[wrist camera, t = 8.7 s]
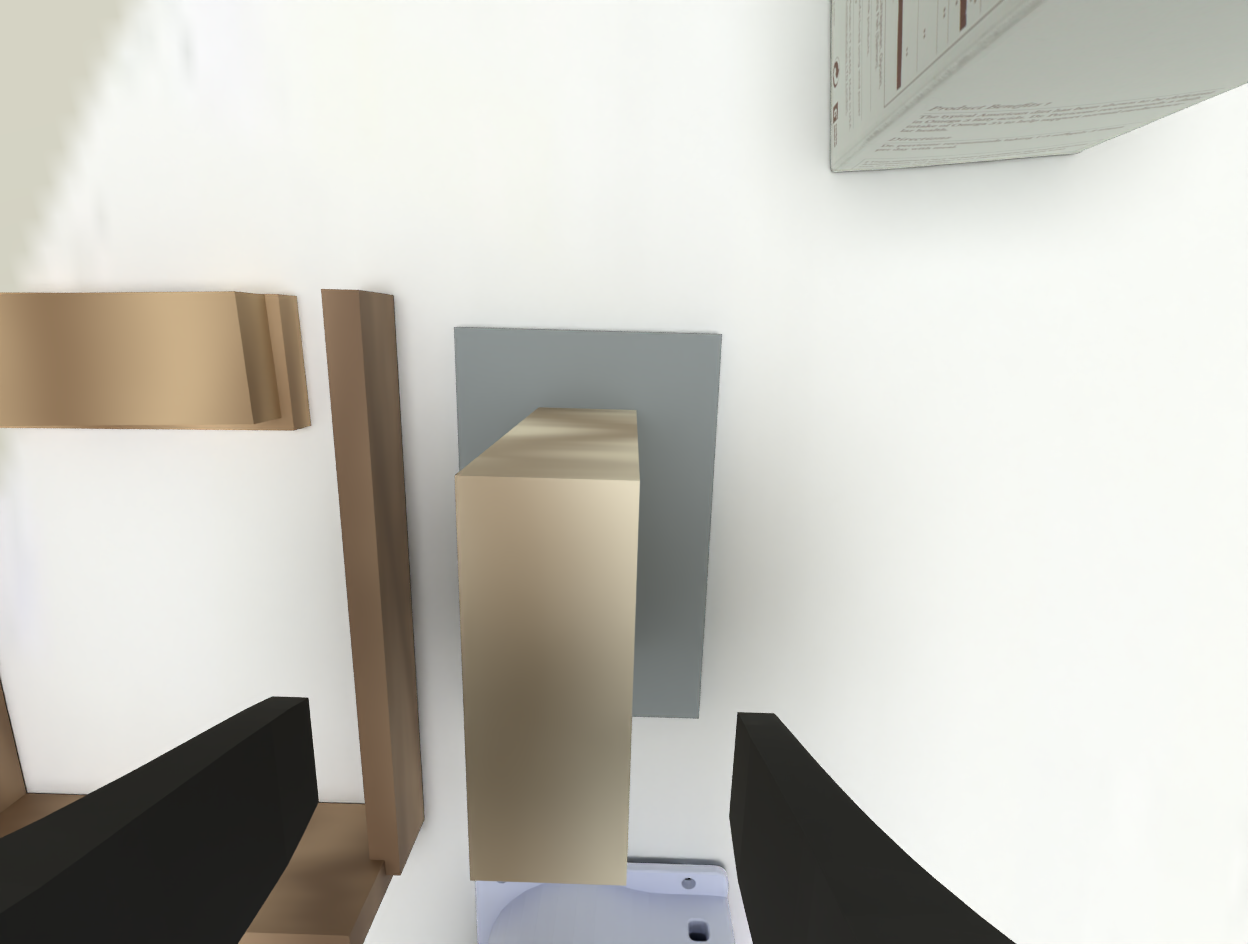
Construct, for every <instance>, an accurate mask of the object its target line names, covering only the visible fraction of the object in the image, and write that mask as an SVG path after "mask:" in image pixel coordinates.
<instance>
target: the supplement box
mask: <svg viewBox="0 0 1248 944" xmlns="http://www.w3.org/2000/svg"><path fill="white" fill-rule="evenodd" d="M1246 83H1248V0H832V14H831V144H830V150H831V169H832V171H833V172H844V171H860V170H880V169H893V168H906V167H919V166H932V165H944V164H956V163H968V162H980V161H991V160H1003V159H1015V158H1027V157H1038V156H1050V155H1062V154H1077V153H1080V152H1082V151H1083V150H1085V149H1088V148H1090V147H1093V146H1095V145H1097V144H1100V143H1102V142H1105V141H1107V140H1110V139H1112V138H1114V137H1117V136H1119V135H1122V134H1125V133H1127V132H1130V131H1132V130H1135V129H1137V128H1139V127H1142V126H1145V125H1147V124H1149V123H1152V122H1154V121H1156V120H1159V119H1161V118H1163V117H1166V116H1168V115H1171V114H1173V113H1175V112H1178V111H1180V110H1183V109H1185V108H1188V107H1190V106H1192V105H1194V104H1197V103H1199V102H1202V101H1204V100H1207V99H1209V98H1212V97H1214V96H1217V95H1219V94H1222V93H1224V92H1227V91H1229V90H1232V89H1234V88H1236V87H1239V86H1241V85H1244V84H1246Z"/></svg>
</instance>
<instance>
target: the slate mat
mask: <svg viewBox="0 0 1248 944" xmlns="http://www.w3.org/2000/svg"><path fill="white" fill-rule="evenodd" d="M454 339H455V366H456V392H457V419H458V445H459V472H460V471H461V470H462V469H463V468H464V467H466V466H467V465H468V464H469V463H471V462H472V461H473V460H474V459H476V458H477V457H478V456H479V455H481V454H482V453H483V452H484V451H485V450H487V449H488V448H489V447H490V446H492V445H493V444H494V443H495V442H497V441H498V440H499V439H500V438H502V437H503V436H504V435H505V434H506V433H508V432H509V431H510V430H511V429H513V428H514V427H515V426H516V425H518V424H519V423H520V422H521V421H522V420H524V419H525V418H526V417H527V416H529V415H530V414H531V413H532V412H534V411H535V410H536V409H537V408H539V407H545V408H581V409H616V410H636V413H637V433H638V453H639V474H640V492H639V521H638V551H637V581H636V611H635V641H634V671H633V701H632V717H665V718H697V719H699V705H700V689H701V672H702V656H703V639H704V623H705V606H706V590H707V573H708V557H709V540H710V524H711V508H712V491H713V475H714V458H715V442H716V425H717V409H718V392H719V376H720V359H721V343H722V334H699V333H660V332H622V331H584V330H545V329H507V328H468V327H454Z"/></svg>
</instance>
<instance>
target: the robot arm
mask: <svg viewBox="0 0 1248 944" xmlns="http://www.w3.org/2000/svg"><path fill="white" fill-rule="evenodd" d="M318 803H319V799H318V789H317V779H316V769H315V759H314V749H313V739H312V729H311V719H310V709H309V699H308V698H302V697H273V696H272V697H270V698H268V699H266V700H264V701H262V702H259V703H257V704H255V705H253V706H251V707H249V708H247V709H245V710H243V711H242V712H240V713H238V714H236V715H234V716H232V717H230V718H228V719H227V720H225V721H223V722H221V723H219V724H217V725H216V726H214V727H212V728H210V729H208V730H207V731H205V732H203V733H201V734H199V735H198V736H196V737H194V738H192V739H190V740H188V741H187V742H185V743H183V744H181V745H179V746H178V747H176V748H174V749H172V750H170V751H168V752H167V753H165V754H163V755H161V756H159V757H158V758H156V759H154V760H152V761H150V762H148V763H147V764H145V765H143V766H141V767H139V768H138V769H136V770H134V771H132V772H130V773H128V774H126V775H125V776H123V777H121V778H119V779H117V780H115V781H113V782H111V783H109V784H107V785H105V786H103V787H101V788H99V789H97V790H95V791H94V792H92V793H90V794H88V795H86V796H84V797H82V798H80V799H78V800H76V801H74V802H72V803H70V804H68V805H66V806H65V807H63V808H61V809H59V810H57V811H55V812H53V813H51V814H49V815H47V816H45V817H43V818H41V819H39V820H37V821H35V822H33V823H31V824H29V825H27V826H25V827H23V828H21V829H19V830H16V831H14V832H12V833H10V834H8V835H6V836H4V837H2V838H0V944H238V943H239V941H240V940H241V938H242V937H243V935H244V934H245V932H246V931H247V929H248V928H249V926H250V924H251V923H252V921H253V920H254V918H255V917H256V915H257V913H258V912H259V910H260V909H261V907H262V906H263V904H264V902H265V901H266V899H267V898H268V896H269V895H270V893H271V891H272V890H273V888H274V887H275V885H276V884H277V882H278V880H279V879H280V877H281V876H282V874H283V872H284V871H285V869H286V867H287V866H288V864H289V862H290V860H291V858H292V856H293V854H294V852H295V850H296V848H297V846H298V844H299V842H300V840H301V838H302V836H303V834H304V832H305V830H306V828H307V826H308V824H309V822H310V819H311V817H312V815H313V813H314V811H315V809H316V807H317V805H318ZM729 818H730V826H731V834H732V841H733V849H734V856H735V863H736V870H737V877H738V883H739V887H740V892H741V896H742V900H743V904H744V908H745V913H746V917H747V921H748V925H749V929H750V933H751V937H752V941H753V944H1016V943H1014V942H1013V941H1012V940H1010V939H1009V938H1008V937H1006V936H1005V935H1004V934H1003V933H1001V932H1000V931H999V930H997V929H996V928H995V927H994V926H992V925H991V924H990V923H988V922H987V921H986V920H985V919H983V918H982V917H981V916H979V915H978V914H977V913H976V912H975V911H973V910H972V909H971V908H970V907H969V906H967V905H966V904H965V903H964V902H963V901H961V900H960V899H959V898H958V897H957V896H955V895H954V894H953V893H952V892H950V891H949V890H948V889H947V888H946V887H944V886H943V885H942V884H941V883H940V882H938V881H937V880H936V879H935V878H934V877H932V876H931V875H930V874H929V873H928V872H927V871H926V870H925V869H923V868H922V867H921V866H920V865H919V864H918V863H917V862H916V861H914V860H913V859H912V858H911V857H910V856H909V855H908V854H907V853H906V852H905V851H904V850H903V849H901V848H900V847H899V846H898V845H897V844H896V843H895V842H894V841H893V840H892V839H891V838H890V837H889V836H888V835H887V834H886V833H885V832H884V831H882V830H881V829H880V828H879V827H878V826H877V825H876V824H875V823H874V822H873V821H872V820H871V819H870V818H869V817H868V816H867V815H866V814H865V813H864V812H863V811H862V810H861V809H860V808H859V807H858V806H857V805H856V804H855V803H854V801H853V800H852V799H851V798H850V797H849V796H848V795H847V794H846V793H845V792H844V791H843V790H842V789H841V788H840V787H839V786H838V785H837V784H836V783H835V781H834V780H833V779H832V778H831V777H830V776H829V775H828V774H827V773H826V772H825V770H824V769H823V768H822V767H821V766H820V765H819V764H818V763H817V761H816V760H815V759H814V758H813V757H812V756H811V755H810V754H809V752H808V751H807V750H806V749H805V748H804V747H803V746H802V744H801V743H800V742H799V741H798V740H797V739H796V738H795V736H794V735H793V734H792V733H791V732H790V731H789V729H788V728H787V727H786V726H785V725H784V724H783V723H782V722H781V720H780V719H779V718H778V717H777V716H776V715H775V714H774V713H744V712H738V714H737V726H736V739H735V751H734V764H733V776H732V788H731V801H730V813H729ZM685 878H692V879H691V880H685ZM475 886H476V913H477V940H478V944H735V939H734V933H733V927H732V921H731V915H730V909H729V903H728V886H729V883H728V877H727V872H726V871H725V869H723V868H722V867H720V866H715V865H687V864H657V863H627V880H626V886H621V885H591V884H562V883H532V882H503V881H475Z"/></svg>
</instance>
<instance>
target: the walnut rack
mask: <svg viewBox="0 0 1248 944" xmlns="http://www.w3.org/2000/svg"><path fill="white" fill-rule="evenodd" d="M321 294H322V306H323V317H324V329H325V341H326V353H327V364H328V376H329V388H330V400H331V411H332V423H333V435H334V446H335V458H336V470H337V482H338V493H339V505H340V517H341V529H342V540H343V552H344V564H345V575H346V587H347V599H348V611H349V622H350V634H351V646H352V658H353V669H354V681H355V693H356V704H357V716H358V728H359V740H360V751H361V763H362V775H363V787H364V798H365V804H344V803H318V805H317V807H316V809H315V811H314V813H313V815H312V817H311V819H310V822H309V824H308V826H307V828H306V830H305V832H304V834H303V836H302V838H301V840H300V842H299V844H298V846H297V848H296V850H295V852H294V854H293V856H292V858H291V860H290V862H289V864H288V866H287V867H286V869H285V871H284V872H283V874H282V876H281V877H280V879H279V880H278V882H277V884H276V885H275V887H274V888H273V890H272V891H271V893H270V895H269V896H268V898H267V899H266V901H265V902H264V904H263V906H262V907H261V909H260V910H259V912H258V913H257V915H256V917H255V918H254V920H253V921H252V923H251V924H250V926H249V928H248V929H247V931H246V932H245V934H244V935H243V937H242V938H241V940H240V941H239V943H238V944H363V943H364V940H365V938H366V936H367V933H368V931H369V929H370V927H371V924H372V922H373V920H374V918H375V915H376V913H377V911H378V908H379V906H380V904H381V902H382V899H383V897H384V895H385V893H386V890H387V888H388V886H389V883H390V881H391V879H392V877H393V875H401V873H402V871H403V868H404V866H405V864H406V861H407V859H408V857H409V854H410V852H411V850H412V847H413V845H414V843H415V840H416V838H417V836H418V833H419V831H420V828H421V826H422V824H423V821H424V806H423V789H422V772H421V755H420V738H419V721H418V705H417V688H416V671H415V654H414V637H413V620H412V603H411V587H410V570H409V553H408V536H407V519H406V502H405V485H404V469H403V452H402V435H401V418H400V401H399V384H398V367H397V351H396V334H395V317H394V300H393V295H388V294H382V293H375V292H368V291H362V290H338V289H321ZM84 796H86V795H64V794H33V793H26V790H25V785H24V781H23V777H22V773H21V768H20V764H19V760H18V756H17V751H16V747H15V743H14V738H13V734H12V730H11V726H10V721H9V717H8V713H7V709H6V704H5V700H4V696H3V692H2V687H1V683H0V838H2V837H4V836H6V835H8V834H10V833H12V832H14V831H16V830H19V829H21V828H23V827H25V826H27V825H29V824H31V823H33V822H35V821H37V820H39V819H41V818H43V817H45V816H47V815H49V814H51V813H53V812H55V811H57V810H59V809H61V808H63V807H65V806H66V805H68V804H70V803H72V802H74V801H76V800H78V799H80V798H82V797H84Z"/></svg>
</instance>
